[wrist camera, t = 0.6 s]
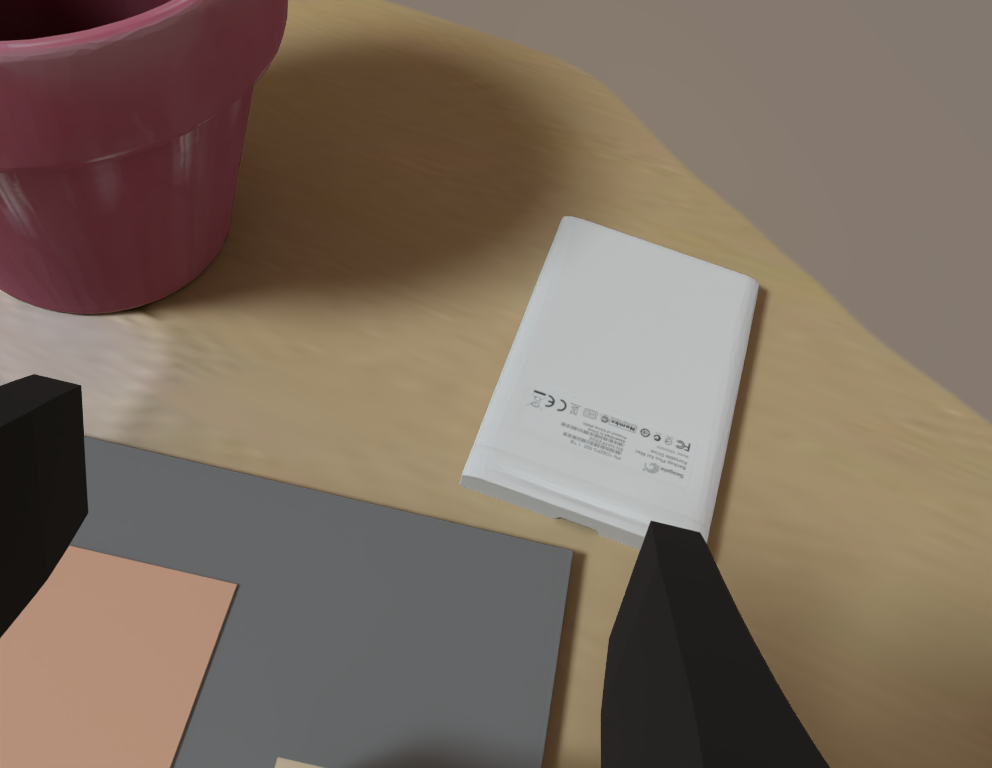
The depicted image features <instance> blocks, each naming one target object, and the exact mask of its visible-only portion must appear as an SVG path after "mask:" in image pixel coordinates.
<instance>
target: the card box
mask: <svg viewBox="0 0 992 768" xmlns="http://www.w3.org/2000/svg"><path fill="white" fill-rule="evenodd" d="M275 768H323V767H319V766H315V765H310V764H306V763H301V762H297V761H293V760H288V759H284V758H280V757H278V758H277V761H276V765H275Z"/></svg>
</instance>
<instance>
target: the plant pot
mask: <svg viewBox="0 0 992 768" xmlns="http://www.w3.org/2000/svg"><path fill="white" fill-rule="evenodd" d="M287 8H288V0H0V289H1V290H2V291H4V292H6V293H7V294H9V295H11V296H12V297H14V298H16V299H18V300H21V301H23V302H26V303H28V304H31V305H34V306H36V307H40V308H44V309H49V310H53V311H60V312H67V313H80V314H97V313H109V312H116V311H121V310H127V309H132V308H136V307H140V306H143V305H145V304H148V303H151V302H154V301H157V300H159V299H162V298H164V297H166V296H168V295H170V294H172V293H174V292H176V291H177V290H179V289H180V288H182V287H184V286H185V285H187V284H188V283H190V282H191V281H193V280H194V279H195V278H196V277H197V276H198V275H200V274H201V273H202V272H203V271H204V270H205V269H206V268H207V267H208V266H209V265H210V263H211V262H212V261H213V259H214V258H215V257H216V255H217V254H218V253H219V251H220V249H221V248H222V246H223V244H224V242H225V239H226V236H227V233H228V230H229V226H230V221H231V214H232V205H233V198H234V192H235V185H236V180H237V175H238V169H239V164H240V159H241V154H242V148H243V142H244V137H245V131H246V125H247V119H248V113H249V108H250V102H251V96H252V90H253V85H254V84H255V83H256V82H257V81H258V80H259V78H260V77H261V76H262V75H263V74H264V72H265V71H266V70H267V69H268V67H269V65H270V63H271V62H272V60H273V58H274V56H275V55H276V53H277V51H278V49H279V46H280V43H281V40H282V37H283V34H284V30H285V26H286V20H287Z"/></svg>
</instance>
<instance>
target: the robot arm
mask: <svg viewBox="0 0 992 768" xmlns="http://www.w3.org/2000/svg"><path fill="white" fill-rule="evenodd" d="M87 515H88V498H87V480H86V463H85V445H84V427H83V410H82V392H81V385H77V384H73V383H69V382H64V381H60V380H56V379H52V378H48V377H43V376H39V375H35V374H34V375H31V376H27V377H24V378H21V379H18V380H15V381H13V382H10V383H7V384H4V385H2V386H0V638H1V637H2V636H3V634H4V633H5V632H6V631H7V630H8V628H9V627H10V626H11V625H12V623H13V622H14V621H15V620H16V618H17V617H18V616H19V615H20V614H21V612H22V611H23V610H24V609H25V607H26V606H27V605H28V604H29V602H30V601H31V600H32V599H33V597H34V596H35V595H36V594H37V592H38V591H39V590H40V589H41V587H42V586H43V585H44V584H45V582H46V581H47V580H48V578H49V577H50V575H51V574H52V572H53V570H54V569H55V567H56V566H57V564H58V563H59V561H60V559H61V558H62V556H63V555H64V553H65V552H66V550H67V548H68V547H69V545H70V543H71V542H72V540H73V538H74V537H75V535H76V533H77V531H78V530H79V528H80V526H81V525H82V523H83V521H84V520H85V518H86V516H87ZM601 768H830V767H829V766H828V764H827V763H826V761H825V760H824V758H823V757H822V755H821V754H820V752H819V751H818V749H817V748H816V746H815V744H814V743H813V741H812V740H811V738H810V736H809V735H808V733H807V732H806V730H805V728H804V727H803V725H802V724H801V722H800V720H799V719H798V717H797V716H796V714H795V712H794V711H793V709H792V707H791V706H790V704H789V702H788V701H787V699H786V697H785V696H784V694H783V692H782V690H781V689H780V687H779V685H778V684H777V682H776V680H775V678H774V676H773V675H772V673H771V671H770V669H769V667H768V665H767V664H766V662H765V660H764V658H763V656H762V655H761V653H760V651H759V649H758V647H757V645H756V644H755V642H754V640H753V638H752V636H751V634H750V632H749V630H748V628H747V626H746V625H745V623H744V621H743V619H742V617H741V615H740V613H739V611H738V609H737V607H736V605H735V603H734V601H733V599H732V597H731V595H730V593H729V590H728V588H727V586H726V584H725V582H724V580H723V578H722V576H721V574H720V571H719V569H718V567H717V565H716V563H715V561H714V559H713V556H712V554H711V552H710V550H709V548H708V546H707V544H706V541H705V540H704V538H703V536H702V535H701V533H700V532H697V531H693V530H689V529H684V528H680V527H676V526H672V525H668V524H663V523H659V522H655V521H650V524H649V527H648V530H647V532H646V535H645V538H644V541H643V544H642V547H641V550H640V552H639V555H638V558H637V561H636V564H635V567H634V569H633V572H632V575H631V578H630V581H629V584H628V586H627V589H626V592H625V595H624V598H623V601H622V604H621V606H620V609H619V612H618V615H617V618H616V621H615V623H614V626H613V629H612V632H611V635H610V638H609V645H608V653H607V662H606V670H605V679H604V689H603V699H602V708H601Z"/></svg>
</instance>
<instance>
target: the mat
mask: <svg viewBox="0 0 992 768" xmlns="http://www.w3.org/2000/svg"><path fill="white" fill-rule="evenodd" d="M84 445H85V463H86V480H87V498H88V515H87V516H86V518H85V520H84V521H83V523H82V525H81V526H80V528H79V530H78V531H77V533H76V535H75V537H74V538H73V540H72V542H71V543H70V545H69V547H68V548H67V550H66V552H65V553H64V555H63V556H62V558H61V559H60V561H59V563H58V564H57V566H56V567H55V569H54V570H53V572H52V574H51V575H50V577H49V578H48V580H47V581H46V582H45V584H44V585H43V586H42V587H41V589H40V590H39V591H38V592H37V594H36V595H35V596H34V597H33V599H32V600H31V601H30V602H29V604H28V605H27V606H26V607H25V609H24V610H23V611H22V612H21V614H20V615H19V616H18V617H17V618H16V620H15V621H14V622H13V623H12V625H11V626H10V627H9V628H8V630H7V631H6V632H5V633H4V634H3V636H2V637H1V638H0V768H275V765H276V761H277V758H278V757H280V758H284V759H288V760H293V761H297V762H301V763H306V764H310V765H315V766H319V767H323V768H541V766H542V759H543V753H544V746H545V739H546V732H547V725H548V718H549V712H550V705H551V698H552V691H553V684H554V677H555V671H556V664H557V657H558V650H559V643H560V636H561V629H562V623H563V616H564V609H565V602H566V595H567V588H568V582H569V575H570V568H571V561H572V554H573V551H572V550H568V549H564V548H559V547H555V546H551V545H547V544H542V543H538V542H534V541H529V540H525V539H521V538H517V537H512V536H508V535H504V534H500V533H495V532H491V531H487V530H482V529H478V528H474V527H470V526H465V525H461V524H457V523H452V522H448V521H444V520H440V519H435V518H431V517H427V516H423V515H418V514H414V513H410V512H405V511H401V510H397V509H393V508H388V507H384V506H380V505H376V504H371V503H367V502H363V501H358V500H354V499H350V498H346V497H341V496H337V495H333V494H329V493H324V492H320V491H316V490H311V489H307V488H303V487H299V486H294V485H290V484H286V483H282V482H277V481H273V480H269V479H264V478H260V477H256V476H252V475H247V474H243V473H239V472H235V471H230V470H226V469H222V468H217V467H213V466H209V465H205V464H200V463H196V462H192V461H188V460H183V459H179V458H175V457H170V456H166V455H162V454H158V453H153V452H149V451H145V450H141V449H136V448H132V447H128V446H123V445H119V444H115V443H111V442H106V441H102V440H98V439H93V438H89V437H85V436H84Z"/></svg>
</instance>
